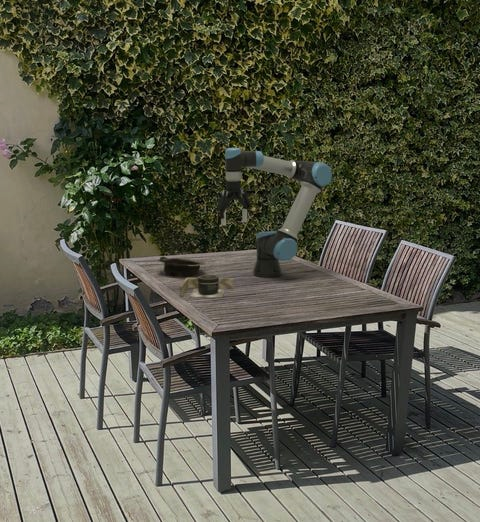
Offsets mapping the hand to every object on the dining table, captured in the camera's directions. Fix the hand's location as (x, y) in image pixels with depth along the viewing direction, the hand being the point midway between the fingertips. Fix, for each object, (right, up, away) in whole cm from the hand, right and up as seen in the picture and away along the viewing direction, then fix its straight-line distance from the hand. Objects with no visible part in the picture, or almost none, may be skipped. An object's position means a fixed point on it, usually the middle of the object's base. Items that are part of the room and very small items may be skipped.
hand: (234, 223), depth 363 cm
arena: (-13, -33, -10) cm, 37 cm away
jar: (-12, -33, -12) cm, 37 cm away
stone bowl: (-28, -25, +32) cm, 49 cm away
